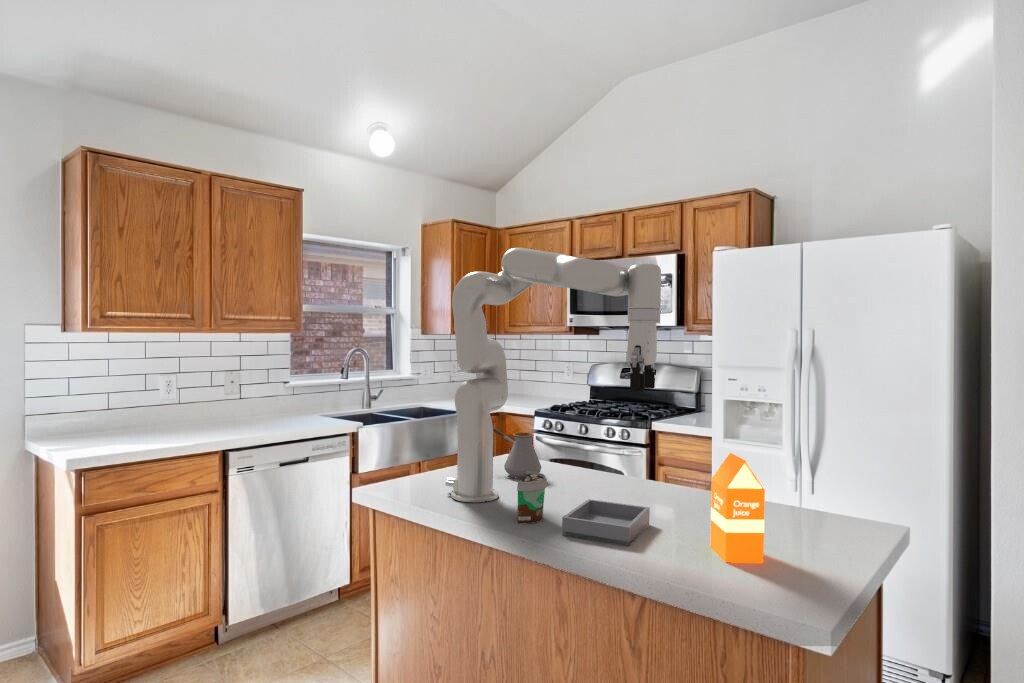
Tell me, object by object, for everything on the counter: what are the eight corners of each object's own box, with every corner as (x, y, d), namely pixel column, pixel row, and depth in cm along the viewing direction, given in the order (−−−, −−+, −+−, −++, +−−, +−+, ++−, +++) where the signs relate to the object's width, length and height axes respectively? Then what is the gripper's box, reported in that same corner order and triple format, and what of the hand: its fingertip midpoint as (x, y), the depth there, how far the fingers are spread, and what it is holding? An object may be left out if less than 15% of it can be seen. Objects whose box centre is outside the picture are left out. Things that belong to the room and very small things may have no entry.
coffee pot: (548, 475, 196) (549, 427, 196) (527, 482, 187) (528, 431, 187) (493, 466, 209) (493, 420, 208) (471, 472, 199) (471, 424, 199)
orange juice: (746, 547, 133) (748, 452, 133) (764, 563, 124) (766, 461, 124) (709, 547, 133) (711, 452, 132) (724, 563, 124) (726, 461, 124)
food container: (543, 527, 145) (543, 483, 145) (516, 525, 146) (517, 482, 146) (550, 512, 157) (551, 471, 157) (526, 510, 158) (526, 470, 158)
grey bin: (562, 535, 139) (562, 517, 139) (588, 515, 154) (588, 499, 154) (629, 546, 133) (629, 527, 132) (649, 524, 148) (649, 507, 148)
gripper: (637, 317, 159) (636, 386, 159) (617, 316, 143) (616, 391, 144) (668, 317, 155) (666, 387, 156) (650, 316, 140) (649, 393, 140)
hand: (642, 389), depth 150 cm, fingers open, 9 cm apart
